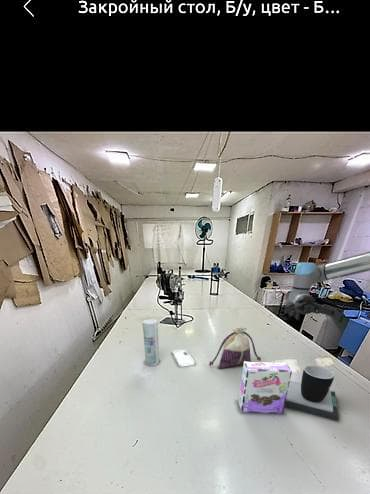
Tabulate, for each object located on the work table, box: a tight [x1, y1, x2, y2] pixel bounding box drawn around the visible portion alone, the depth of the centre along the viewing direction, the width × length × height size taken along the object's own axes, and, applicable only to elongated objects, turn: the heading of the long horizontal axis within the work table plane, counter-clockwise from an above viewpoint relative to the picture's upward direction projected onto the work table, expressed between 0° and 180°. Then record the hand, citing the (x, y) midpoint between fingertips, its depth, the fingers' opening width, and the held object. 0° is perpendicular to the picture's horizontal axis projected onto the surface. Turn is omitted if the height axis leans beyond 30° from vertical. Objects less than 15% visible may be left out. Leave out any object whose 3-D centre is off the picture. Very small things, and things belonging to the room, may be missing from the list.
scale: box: [284, 380, 339, 422], centre depth 83 cm, size 16×15×3 cm
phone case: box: [172, 349, 196, 368], centre depth 113 cm, size 7×1×15 cm
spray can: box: [142, 318, 160, 366], centre depth 106 cm, size 6×6×20 cm
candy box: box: [237, 361, 293, 414], centre depth 77 cm, size 14×6×16 cm, turn 88°
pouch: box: [208, 327, 262, 369], centre depth 104 cm, size 25×8×19 cm, turn 110°
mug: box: [300, 364, 335, 402], centre depth 81 cm, size 12×9×10 cm
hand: (319, 317), depth 81 cm, fingers open, 13 cm apart
